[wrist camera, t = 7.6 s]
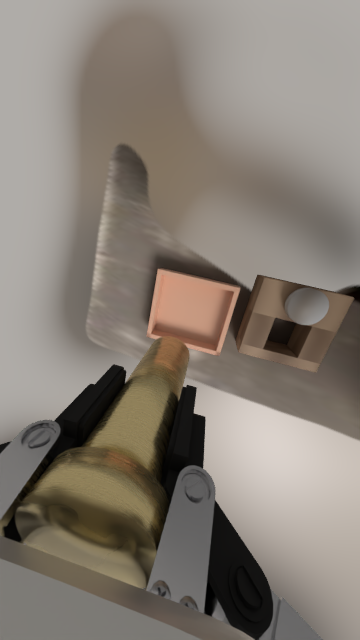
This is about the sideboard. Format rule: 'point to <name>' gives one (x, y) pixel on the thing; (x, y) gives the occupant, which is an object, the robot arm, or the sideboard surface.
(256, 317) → the block
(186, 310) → the tray
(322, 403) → the sideboard surface
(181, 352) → the pin
